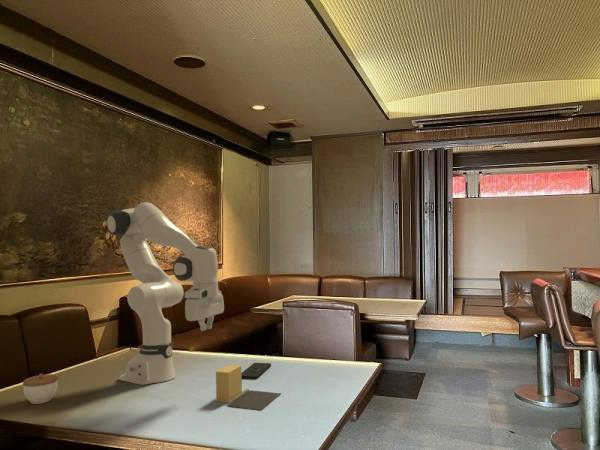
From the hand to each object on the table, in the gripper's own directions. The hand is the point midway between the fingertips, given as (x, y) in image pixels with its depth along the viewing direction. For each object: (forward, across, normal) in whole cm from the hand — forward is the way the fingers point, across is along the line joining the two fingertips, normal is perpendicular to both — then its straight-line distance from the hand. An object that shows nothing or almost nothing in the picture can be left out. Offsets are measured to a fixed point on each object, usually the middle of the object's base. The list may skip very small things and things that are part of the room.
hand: (206, 329), depth 158 cm
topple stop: (+23, 0, +18) cm, 29 cm away
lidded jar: (+23, +22, -54) cm, 63 cm away
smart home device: (+24, -31, +4) cm, 39 cm away
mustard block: (+23, 0, +9) cm, 25 cm away
